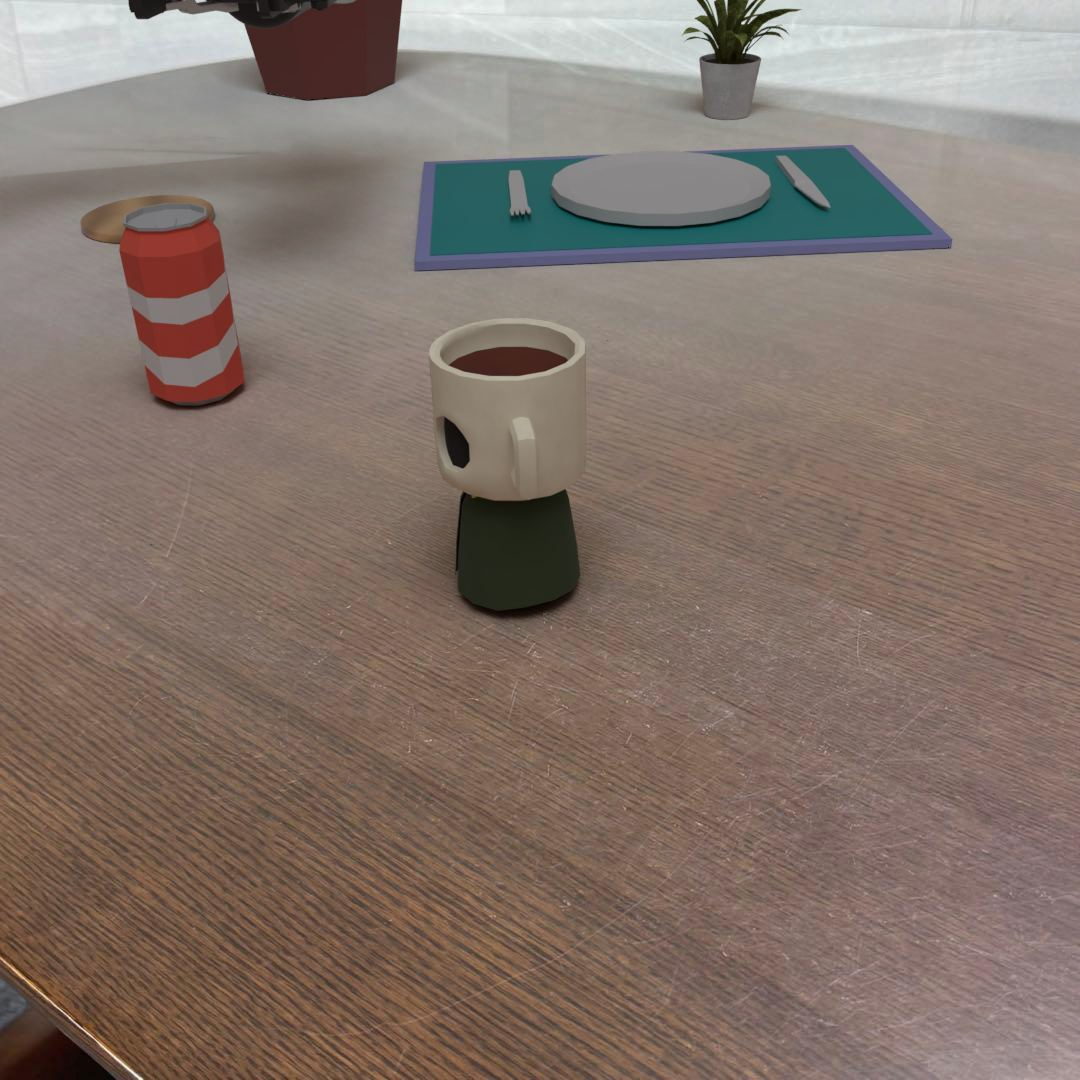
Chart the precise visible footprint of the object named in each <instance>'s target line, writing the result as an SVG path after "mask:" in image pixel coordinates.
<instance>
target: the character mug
mask: <svg viewBox="0 0 1080 1080" xmlns="http://www.w3.org/2000/svg"><path fill="white" fill-rule="evenodd" d="M586 348H587V347H586V340H585V339H584V338H583V337H582V336H581V335H580V334H578V332H576V331H575V330H574V329H572V328H570V327H567V326H564V325H562V324H559V323H556V322H553V321H547V320H541V319H536V318H529V317H524V318H523V317H512V318H511V317H508V318H507V317H503V318H502V317H501V318H500V317H499V318H493V319H486V320H481V321H480V320H479V321H475V322H470V323H467V324H464V325H461V326H458V327H456V328H453V329H450V330H448V331H446V332H445V333H444V334H442V335H440V336H439V337H438V338H436V339H435V340H433V342H432V343H431V345H430V347H429V350H428V362H429V363H428V364H429V375H430V387H431V388H430V390H431V399H432V400H431V401H432V416H433V418H432V419H433V422H432V423H433V433H434V439H435V440H434V441H435V448H436V449H435V450H436V462H437V467H438V469H439V473H440V476H441V478H442V480H443V481H444V482H445V483H447V484H448V485H449V486H451V487H452V488H454V489H457V490H458V491H461V494H460V497H459V507H458V518H457V529H456V538H455V565H454V567H455V568H454V575H455V576H457V591H458V592H459V593H460V594H461V595H462V596H464V597H465V598H466V599H467V600H468V601H469V602H471V603H472V604H474V605H477V606H480V607H484V608H486V609H490V610H494V611H497V612H501V611H509V610H516V609H523V608H528V607H532V606H536V605H540V604H544V603H549V602H553V601H555V600H557V599H559V598H561V597H562V596H565V595H566V594H568V593H569V592H571V591H573V590H574V588H575V587H576V585H577V583H578V581H579V579H580V578H581V570H580V568H581V567H580V560H579V559H580V558H579V552H578V542H577V537H576V531H575V526H574V520H573V514H572V513H573V512H572V508H571V503H570V502H571V501H570V497H569V493H568V491H567V489H569V488H571V487H573V486H574V485H575V484H576V483H577V482H578V480H579V479H580V478H581V477H582V476H583V475H584V474H585V471H586V466H587V349H586Z"/></svg>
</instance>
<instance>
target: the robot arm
mask: <svg viewBox="0 0 1080 1080" xmlns="http://www.w3.org/2000/svg"><path fill="white" fill-rule="evenodd" d="M355 1H356V0H204V1H199V2H197V1H196V0H128V8H129V11H130V13H133V14H134V17H135V19H136V20H149V19H152V18H154V17H157V16H158V15H161V14H164V13H165V12H169V11H175V10H178V11H179V12H180V13H181V14H188V15H199V14H204V13H210V12H221V13H225V14H226V13H227V14H229V15H230V16H231V17H233V18H234V19H235V20H236V21H238V22H240V23H241V24H243V25H244V24H246V25H248V26H251V27H255V28H261V29H270V28H276V27H279V26H282V25H284V24H286V23H287V22H289V21H291V20H292V19H294V18H296V17H297V16H299V15H300V14H302V13H304V12H305V11H307V10H309V9H310V8H312V9H317V10H324V8H328V7H330V6H331V5H332V4H336V5H344V4H350V3H353V2H355Z"/></svg>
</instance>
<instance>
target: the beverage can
mask: <svg viewBox="0 0 1080 1080" xmlns="http://www.w3.org/2000/svg"><path fill="white" fill-rule="evenodd" d="M123 225H124V227H125V230H124V233H123V236H122V239H121V243H119V249H118V252H119V256H120V260H121V265H122V271H123V275H124V279H125V283H126V289H127V292H128V297H129V301H130V305H131V311H132V316H133V320H134V323H135V329H136V332H137V338H138V342H139V346H140V351H141V356H142V359H143V360H142V361H143V365H144V369H145V374H146V379H147V383H148V388H149V393H150V394H151V395H154V396H156V397H157V398H160V399H162V400H164V401H167V402H170V403H172V404H175V405H177V406H191V407H192V406H193V407H195V406H197V407H198V406H199V407H200V406H204V405H208V404H211V403H215V402H218V401H222V400H223V399H225V398H227V397H228V396H229V395H230V394H232V393H233V392H234V391H235V389H237V388H238V387H240V386H241V385H242V384H244V383H245V373H244V365H243V361H242V360H243V359H242V356H241V355H242V353H241V348H240V341H239V337H238V331H237V325H236V320H235V314H234V308H233V303H232V296H231V290H230V285H229V279H228V278H229V277H228V273H227V268H226V261H225V256H224V255H225V254H224V249H223V243H222V238H221V232H220V230H219V228H218V227H217V226H216V225H215V223H214V221H211V220H210V219H209V217H208V216H207V209H206V207H203V206H200V205H196V204H193V203H163V204H158V205H152V206H147V207H141V208H139V209H137V210H134V211H132V212H130V213H128V214H126V215H124V220H123Z"/></svg>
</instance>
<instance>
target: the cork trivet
mask: <svg viewBox="0 0 1080 1080" xmlns="http://www.w3.org/2000/svg"><path fill="white" fill-rule="evenodd" d="M163 203H193V204H196V205H200V206H203V207H206V209H207V216H208V217H209V219H210V220H211V221H212V222H214V219H215V217H216V216H215V210H214V206H213V204H211V202H209V201H207V200H205V199H203V198H200V197H195V196H189V195H180V194H159V195H147V196H146V195H145V196H139V197H137V196H136V197H132V198H126V199H121V200H117V201H114V202H109V203H106V204H103V205H101V206H98V207H96V208H93V209H91V210H90V211H88V212H87V213H86V214H84V215H83V216H82V217H81V219H80V223H79V224H80V228H81V232H82V234H83V235H84V236H85V237H87V238H89V239H92V240H94V241H98V242H102V243H111V244H120V243H121V239H122V236H123V233H124V230H125V227H124V225H123V220H124V215H126V214H128V213H130V212H132V211H134V210H137V209H139V208H141V207H147V206H152V205H158V204H163Z"/></svg>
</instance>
